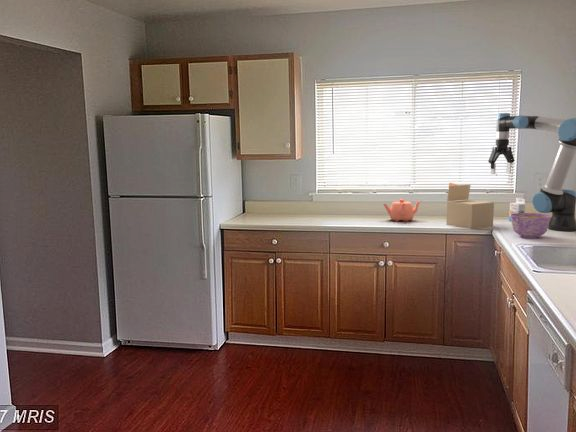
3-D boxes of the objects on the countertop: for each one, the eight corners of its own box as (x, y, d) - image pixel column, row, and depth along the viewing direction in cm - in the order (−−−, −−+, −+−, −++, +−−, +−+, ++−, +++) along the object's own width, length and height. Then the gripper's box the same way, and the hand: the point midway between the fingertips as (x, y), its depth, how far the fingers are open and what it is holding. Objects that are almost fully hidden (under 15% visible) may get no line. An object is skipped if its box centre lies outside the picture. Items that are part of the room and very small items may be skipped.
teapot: (421, 220, 351) (422, 199, 349) (404, 223, 339) (404, 201, 337) (399, 217, 365) (399, 197, 363) (381, 220, 353) (381, 199, 351)
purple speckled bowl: (505, 237, 286) (506, 216, 285) (513, 232, 303) (514, 212, 301) (546, 241, 275) (548, 219, 274) (552, 235, 292) (554, 214, 290)
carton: (492, 226, 325) (494, 202, 323) (471, 228, 316) (472, 204, 314) (467, 222, 342) (468, 199, 340) (446, 224, 334) (447, 201, 332)
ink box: (508, 220, 346) (509, 197, 344) (515, 220, 348) (516, 197, 346) (517, 222, 338) (519, 199, 336) (524, 222, 340) (525, 198, 338)
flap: (470, 184, 338) (460, 181, 345) (449, 185, 329) (439, 182, 336) (468, 199, 340) (458, 196, 347) (447, 201, 332) (437, 197, 339)
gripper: (511, 138, 339) (509, 172, 342) (483, 139, 327) (481, 174, 330) (521, 138, 332) (519, 173, 335) (492, 138, 321) (491, 174, 324)
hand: (500, 173), depth 333 cm, fingers open, 13 cm apart
